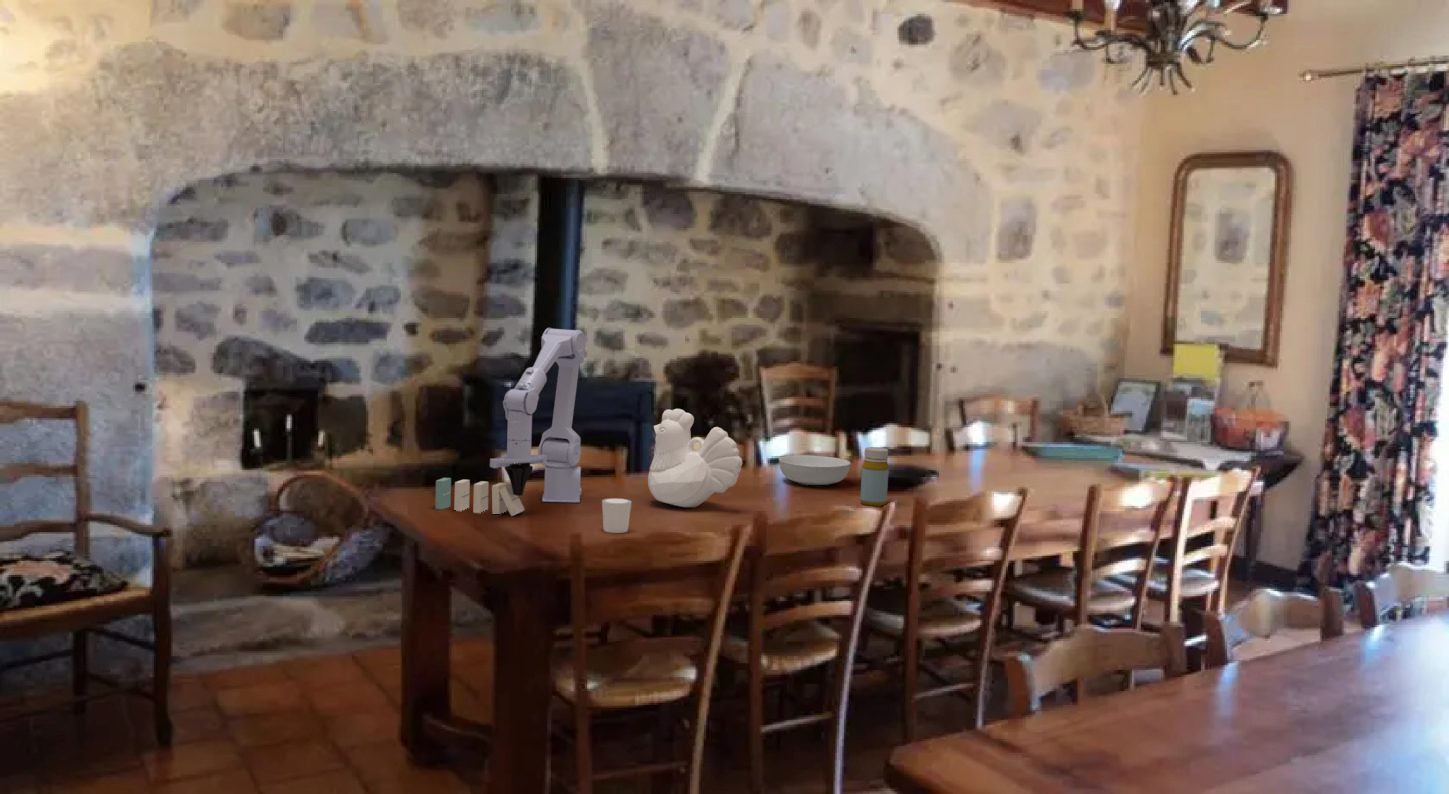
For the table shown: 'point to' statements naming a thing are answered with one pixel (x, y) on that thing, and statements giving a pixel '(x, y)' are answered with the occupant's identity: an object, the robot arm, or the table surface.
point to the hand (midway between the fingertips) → (517, 494)
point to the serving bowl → (814, 469)
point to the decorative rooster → (690, 462)
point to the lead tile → (511, 500)
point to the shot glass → (616, 514)
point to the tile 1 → (443, 493)
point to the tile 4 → (498, 499)
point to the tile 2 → (462, 495)
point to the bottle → (874, 477)
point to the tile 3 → (480, 497)
